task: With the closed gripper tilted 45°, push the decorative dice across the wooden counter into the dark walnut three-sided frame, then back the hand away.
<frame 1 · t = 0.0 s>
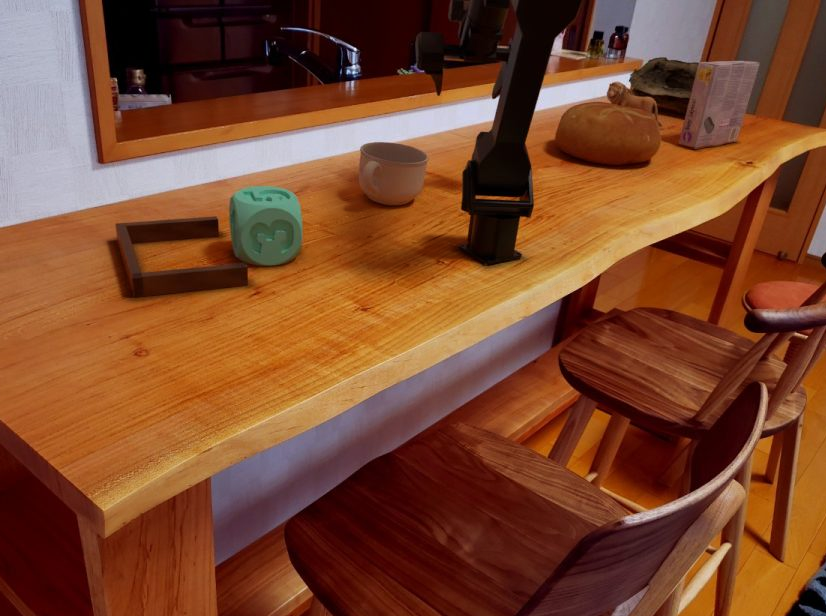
hand: (465, 95, 124), 15 cm above the table, tool tilted 35°, fingers open, 9 cm apart
lion figurine: (628, 124, 184), on the table
walnut frame: (184, 261, 95), on the table
decorative dice: (265, 255, 99), on the table
bread: (604, 155, 156), on the table
teacup: (384, 202, 120), on the table
hollow geode rock: (675, 114, 198), on the table
cake pan box: (708, 144, 171), on the table
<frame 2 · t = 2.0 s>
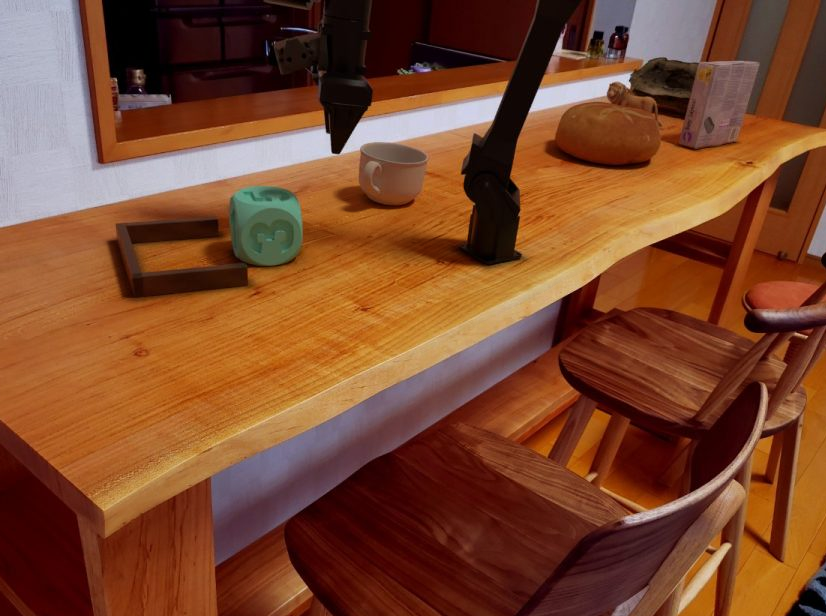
hand: (332, 143, 100), 13 cm above the table, tool pointing down, fingers open, 9 cm apart
nothing on the table moved.
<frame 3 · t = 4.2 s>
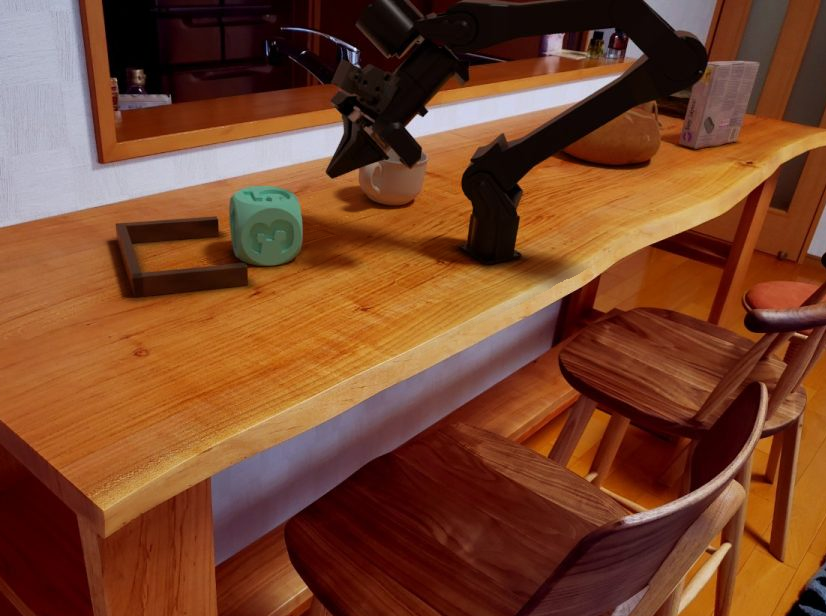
hand: (328, 175, 97), 10 cm above the table, tool tilted 45°, fingers closed
nothing on the table moved.
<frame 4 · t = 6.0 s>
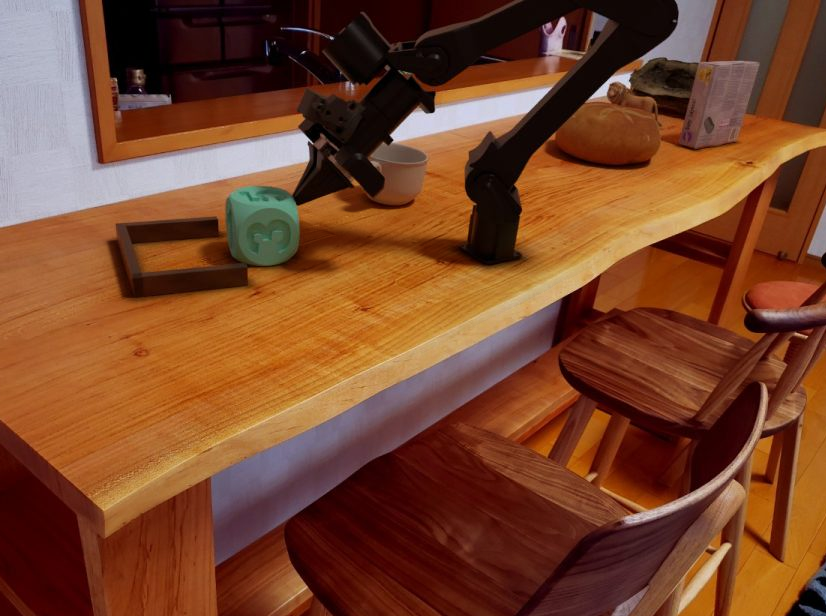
hand: (293, 202, 97), 7 cm above the table, tool tilted 45°, fingers closed, pressing on decorative dice
decorative dice: (262, 255, 99), on the table, touching gripper
everything else where it was.
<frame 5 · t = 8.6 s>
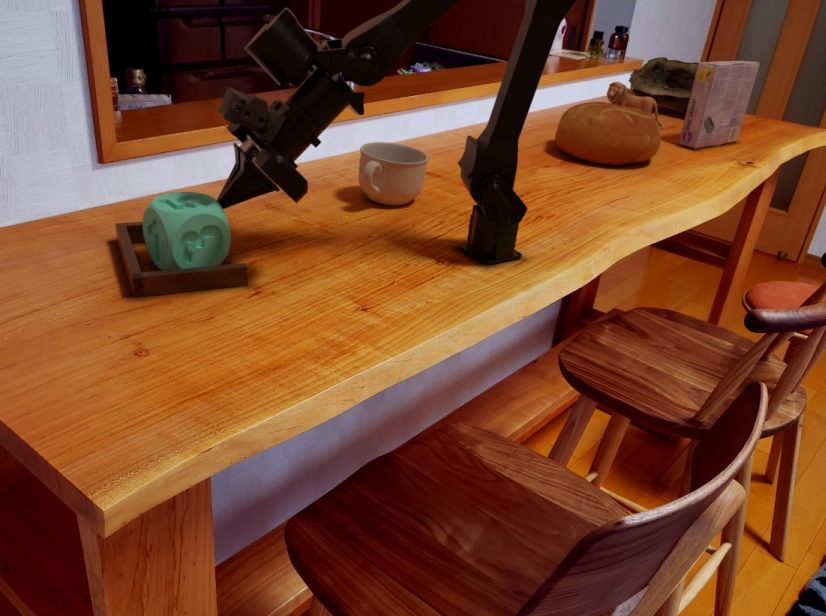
hand: (218, 206, 93), 7 cm above the table, tool tilted 45°, fingers closed
decorative dice: (188, 264, 95), on the table, touching gripper
everything else where it was.
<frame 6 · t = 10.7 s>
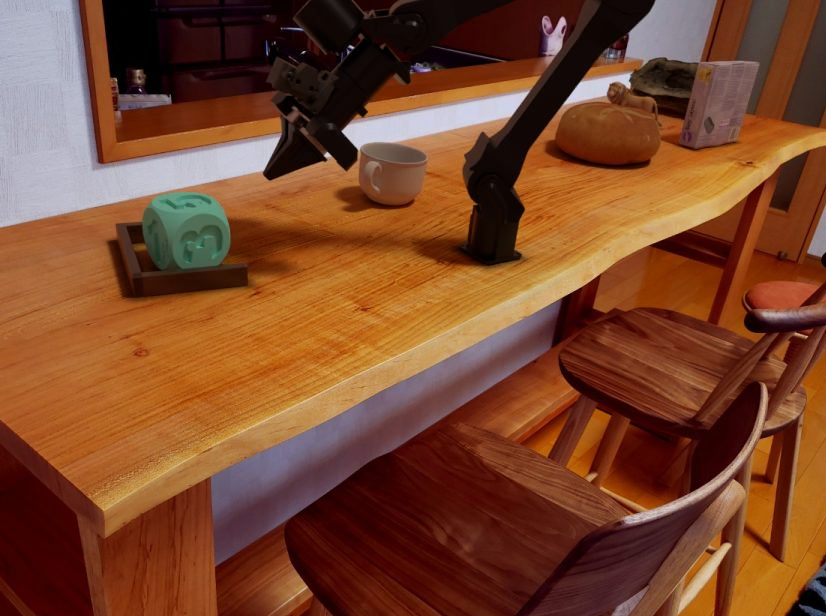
hand: (265, 177, 94), 10 cm above the table, tool tilted 45°, fingers closed
decorative dice: (188, 264, 95), on the table
everything else where it was.
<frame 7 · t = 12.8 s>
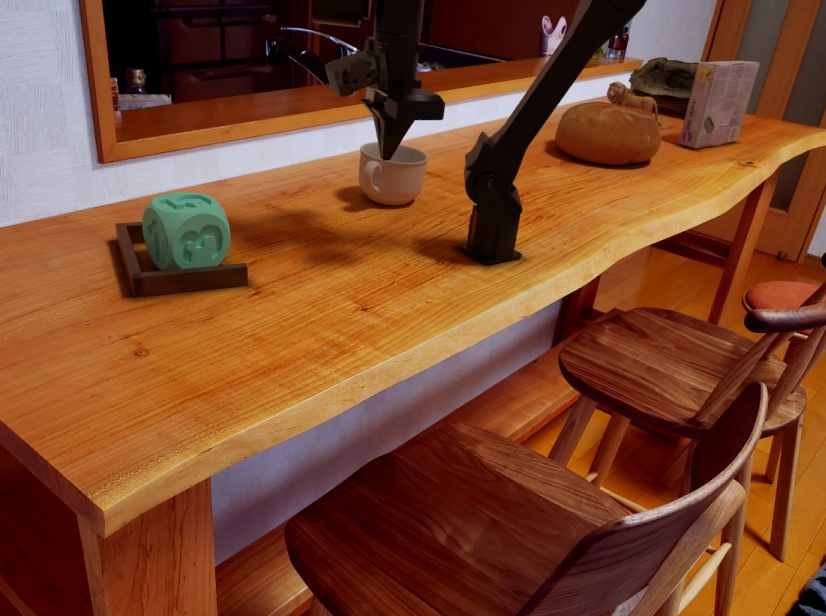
hand: (385, 159, 99), 12 cm above the table, tool pointing down, fingers closed
nothing on the table moved.
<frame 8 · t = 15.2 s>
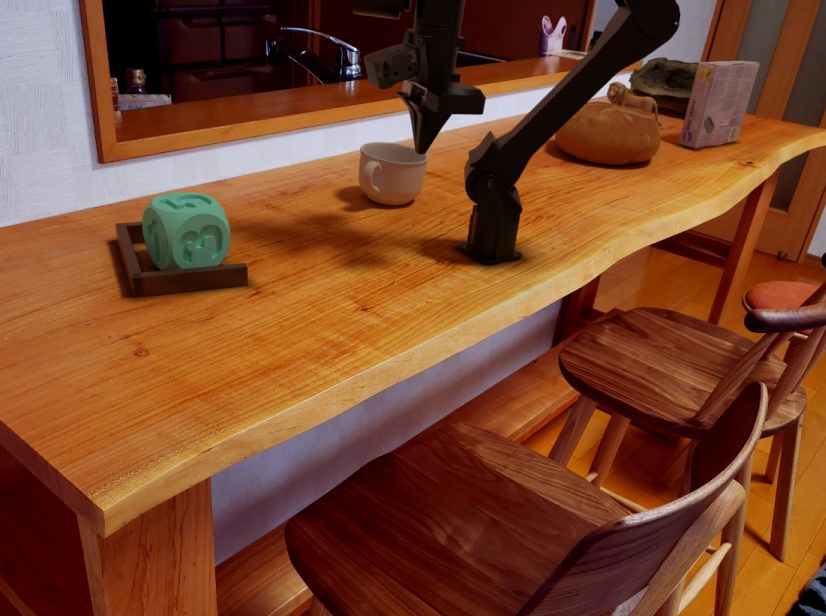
hand: (420, 153, 98), 13 cm above the table, tool pointing down, fingers closed
nothing on the table moved.
at the end: decorative dice 0.6 cm from the walnut frame (horizontally); decorative dice moved 10.1 cm from its start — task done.
